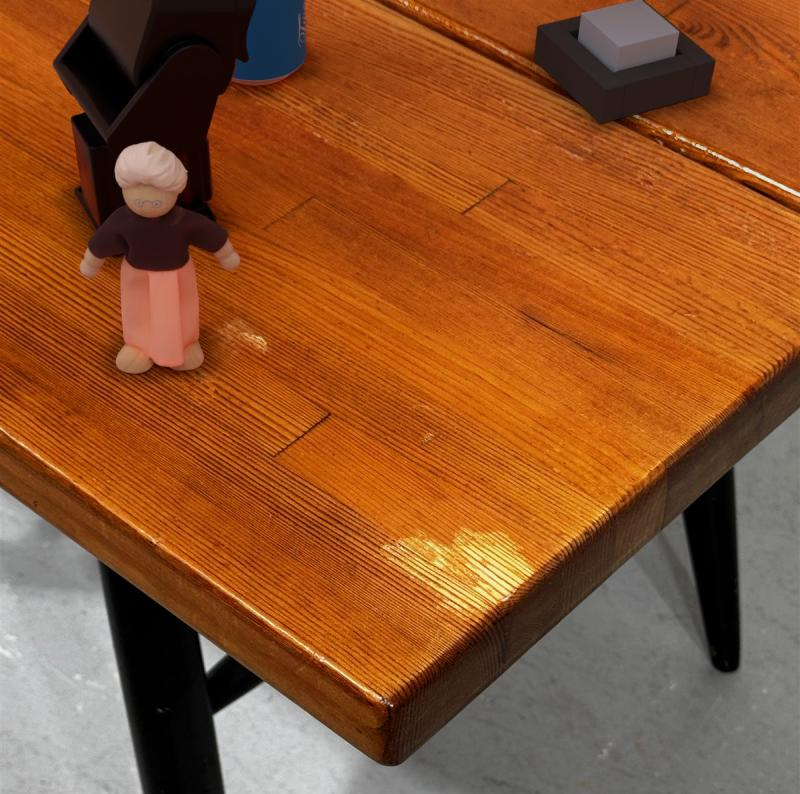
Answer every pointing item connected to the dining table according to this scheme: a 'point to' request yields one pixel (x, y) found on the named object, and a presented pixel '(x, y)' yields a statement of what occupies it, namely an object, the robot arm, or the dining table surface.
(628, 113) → the dark grey square frame
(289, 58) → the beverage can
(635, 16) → the light grey cube
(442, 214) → the dining table surface
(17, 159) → the dining table surface
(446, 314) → the dining table surface
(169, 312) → the grandmother figurine
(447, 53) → the dining table surface
